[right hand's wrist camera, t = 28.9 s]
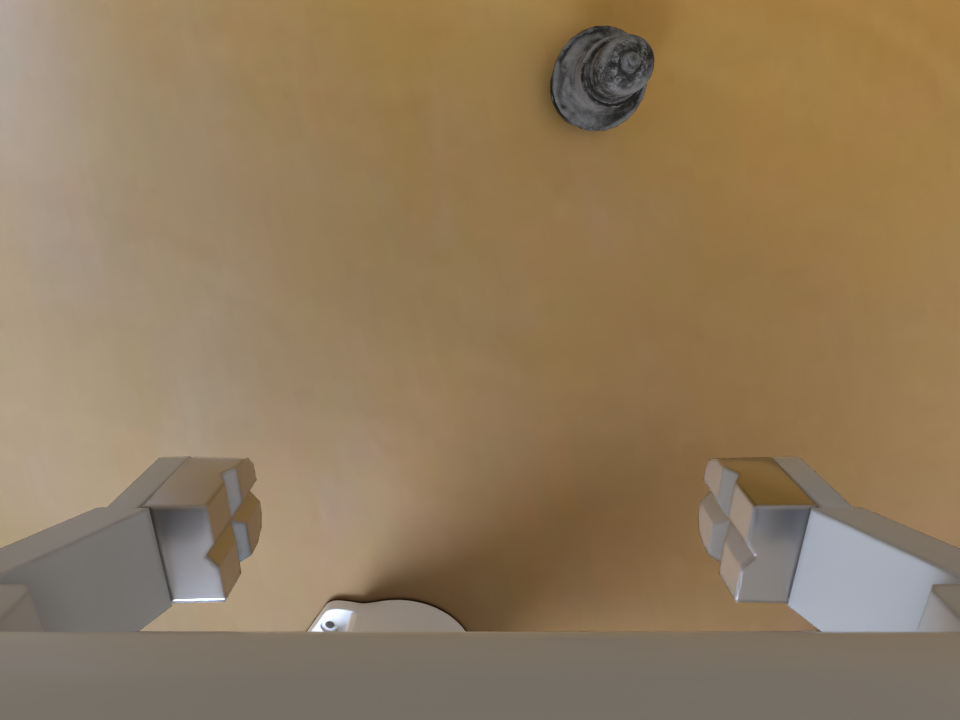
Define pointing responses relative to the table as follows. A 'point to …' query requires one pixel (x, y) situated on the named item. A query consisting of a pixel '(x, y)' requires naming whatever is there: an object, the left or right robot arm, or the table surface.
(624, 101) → the dark grey tapered piece
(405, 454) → the table surface
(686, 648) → the right robot arm
